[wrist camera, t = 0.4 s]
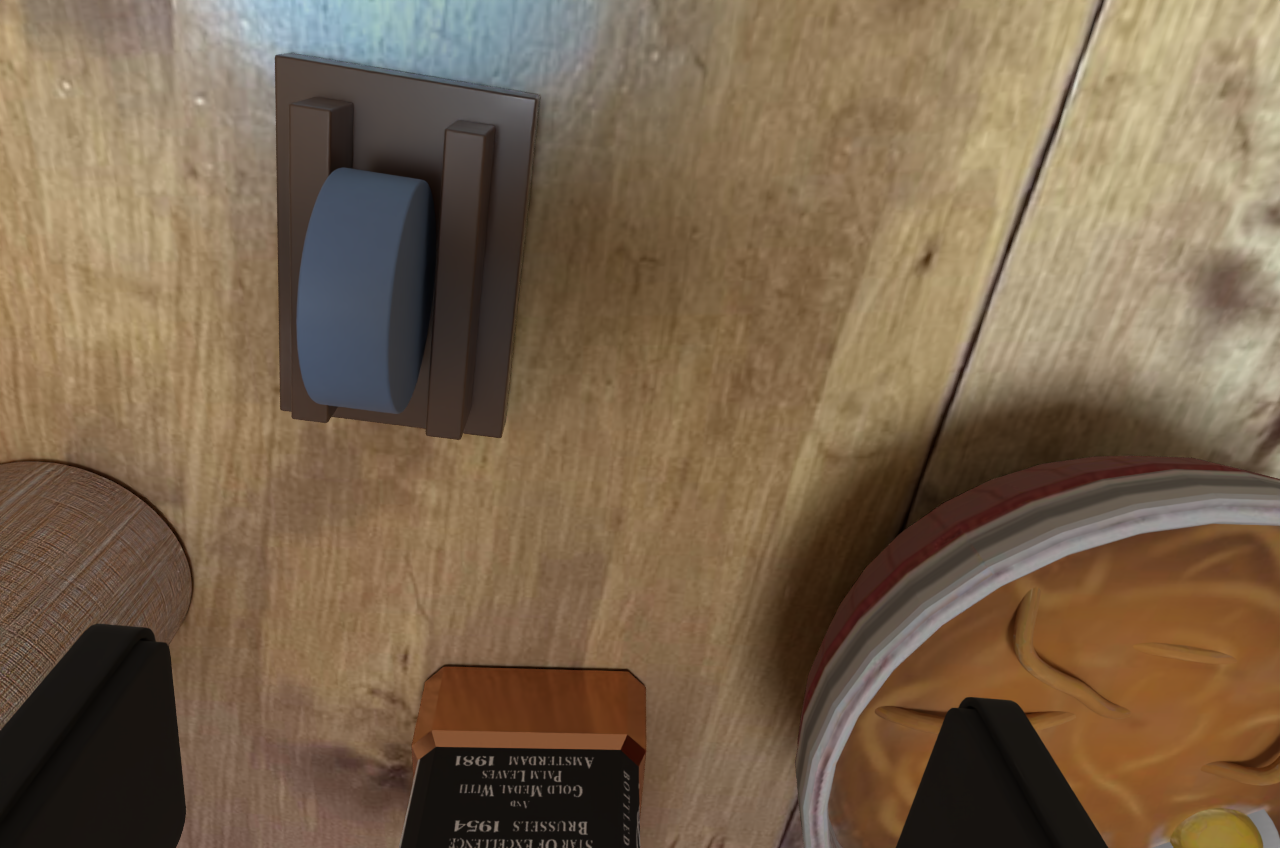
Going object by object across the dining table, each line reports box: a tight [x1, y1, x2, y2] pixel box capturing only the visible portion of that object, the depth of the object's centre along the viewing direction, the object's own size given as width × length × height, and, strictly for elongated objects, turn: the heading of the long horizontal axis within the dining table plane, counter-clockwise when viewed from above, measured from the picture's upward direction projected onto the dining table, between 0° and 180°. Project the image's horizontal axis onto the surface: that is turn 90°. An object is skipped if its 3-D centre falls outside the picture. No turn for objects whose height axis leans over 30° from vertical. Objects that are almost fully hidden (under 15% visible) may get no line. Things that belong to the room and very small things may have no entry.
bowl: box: [795, 456, 1280, 848], centre depth 34 cm, size 23×23×10 cm
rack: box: [275, 53, 540, 440], centre depth 29 cm, size 12×8×4 cm, turn 171°
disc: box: [296, 167, 436, 414], centre depth 26 cm, size 7×2×7 cm, turn 171°
